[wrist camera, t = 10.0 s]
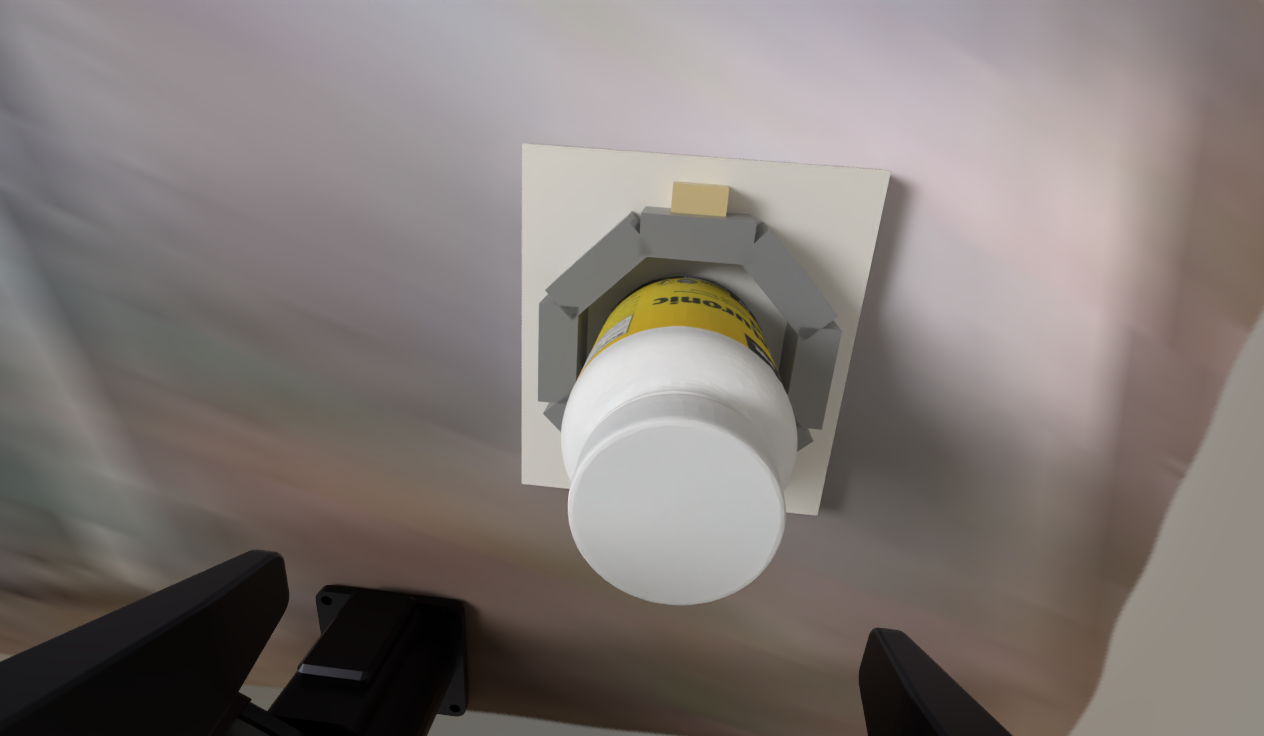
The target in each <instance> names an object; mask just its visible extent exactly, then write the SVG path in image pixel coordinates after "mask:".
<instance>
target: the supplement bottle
mask: <svg viewBox="0 0 1264 736" xmlns="http://www.w3.org/2000/svg"><path fill="white" fill-rule="evenodd" d="M561 449H562V457H563V461H564V466H565V469H566V472H567V474H568V477H569V479H570V482H571V485H570V490H569V496H568V517H569V525H570V528H571V532H572V535H573V538H574V540H575V542H576V545H577V547H578V549H579V551H580V552H581V554H582V556H583V557H584V558H585V560H586V561H587V562H588V563H589V565H590V566H591V567H592V568H593V569H594V570H595V571H596V572H597V573H598V574H599V575H600V576H601V577H603V578H604V579H605V580H606V581H608V582H609V583H611V584H612V585H613V586H615V587H616V588H618V589H620V590H622V591H624V592H626V593H628V594H630V595H632V596H635V597H638V598H641V599H644V600H647V601H651V602H655V603H662V604H668V605H692V604H700V603H707V602H711V601H714V600H717V599H721V598H723V597H726V596H728V595H731V594H733V593H735V592H737V591H738V590H740V589H742V588H744V587H745V586H747V585H748V584H750V583H751V582H752V581H754V580H755V579H756V578H757V577H758V576H759V575H760V574H761V573H762V572H763V571H764V569H765V568H766V567H767V566H768V565H769V564H770V562H771V561H772V559H773V557H774V556H775V554H776V552H777V550H778V548H779V546H780V543H781V540H782V538H783V532H784V529H785V522H786V504H785V497H784V493H783V492H784V490H785V489H786V487H787V485H788V483H789V481H790V478H791V475H792V472H793V469H794V465H795V460H796V455H797V428H796V422H795V417H794V414H793V410H792V406H791V403H790V400H789V396H788V393H787V391H786V388H785V386H784V384H783V382H782V380H781V378H780V376H779V373H778V371H777V368H776V366H775V363H774V361H773V358H772V355H771V353H770V351H769V348H768V345H767V343H766V341H765V338H764V336H763V333H762V330H761V328H760V326H759V324H758V322H757V320H756V318H755V317H754V315H753V314H752V312H751V310H750V309H749V308H748V306H747V305H746V304H745V303H744V302H743V301H742V300H741V298H739V297H738V296H737V295H736V294H735V293H734V292H732V291H731V290H730V289H728V288H727V287H725V286H724V285H722V284H720V283H718V282H716V281H714V280H711V279H707V278H704V277H700V276H695V275H684V274H678V275H667V276H663V277H659V278H655V279H653V280H650V281H648V282H646V283H643V284H642V285H640V286H638V287H637V288H635V289H634V290H632V291H631V292H630V293H628V294H627V295H626V296H625V297H624V298H623V299H622V300H621V301H620V302H619V303H618V304H617V305H616V307H615V308H614V309H613V311H612V312H611V314H610V315H609V317H608V319H607V321H606V322H605V324H604V326H603V328H602V330H601V332H600V334H599V336H598V338H597V340H596V342H595V344H594V346H593V348H592V350H591V352H590V354H589V357H588V359H587V361H586V363H585V365H584V367H583V369H582V371H581V373H580V375H579V377H578V379H577V381H576V383H575V385H574V387H573V389H572V391H571V393H570V396H569V399H568V402H567V405H566V408H565V412H564V416H563V420H562V427H561Z"/></svg>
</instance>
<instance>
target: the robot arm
mask: <svg viewBox="0 0 1264 736" xmlns="http://www.w3.org/2000/svg"><path fill="white" fill-rule="evenodd" d="M329 597H330V598H329ZM288 602H289V588H288V582H287V575H286V569H285V562H284V558H283V557H282V555H281V554H280V553H278V552H273V551H265V550H251V551H248V552H246V553H244V554H241V555H239V556H237V557H235V558H232V559H230V560H228V561H226V562H223V563H221V564H219V565H217V566H214V567H212V568H210V569H208V570H205V571H203V572H201V573H199V574H196V575H194V576H192V577H190V578H187V579H185V580H183V581H181V582H178V583H176V584H174V585H172V586H169V587H167V588H165V589H163V590H160V591H158V592H156V593H154V594H151V595H149V596H147V597H145V598H142V599H140V600H138V601H136V602H133V603H131V604H129V605H127V606H124V607H122V608H120V609H118V610H115V611H113V612H111V613H109V614H106V615H104V616H102V617H100V618H97V619H95V620H93V621H91V622H88V623H86V624H84V625H82V626H79V627H77V628H75V629H73V630H70V631H68V632H66V633H64V634H61V635H59V636H57V637H55V638H52V639H50V640H48V641H46V642H43V643H41V644H39V645H37V646H35V647H32V648H30V649H28V650H26V651H23V652H21V653H19V654H17V655H14V656H12V657H10V658H8V659H5V660H3V661H1V662H0V736H427V735H428V732H429V730H430V728H431V726H432V723H433V721H434V719H435V716H436V714H442V715H450V716H461V715H463V714H464V713H465V711H466V708H467V706H468V681H467V658H466V635H465V612H464V607H463V606H462V604H461V603H459V602H458V601H455V600H449V599H441V598H432V597H424V596H416V595H408V594H399V593H391V592H383V591H375V590H366V589H358V588H350V587H342V586H333V585H326V586H324V587H323V588H322V589H321V590H320V591H319V593H318V594H317V595H316V605H317V611H318V618H319V624H320V630H321V636H320V637H319V639H318V640H317V641H316V643H315V644H314V645H313V647H312V648H311V649H310V651H309V652H308V653H307V655H306V656H305V657H304V659H303V660H302V661H301V663H300V664H299V665H298V668H297V672H296V673H295V674H294V676H293V677H292V679H291V680H290V681H289V683H288V684H287V685H286V687H285V688H284V689H283V691H282V692H281V693H280V695H279V696H278V697H277V699H276V700H275V701H274V703H273V704H272V705H271V707H270V708H269V709H268V711H265V710H264V709H262V708H260V707H258V706H257V705H255V704H253V703H251V702H250V701H251V700H252V699H251V698H249V697H247V696H245V695H243V694H241V693H240V692H239V690H240V688H241V687H242V685H243V683H244V681H245V680H246V678H247V676H248V674H249V673H250V671H251V669H252V668H253V666H254V664H255V662H256V661H257V659H258V657H259V655H260V654H261V652H262V650H263V649H264V647H265V645H266V643H267V642H268V640H269V638H270V637H271V635H272V633H273V631H274V630H275V628H276V626H277V624H278V623H279V621H280V619H281V618H282V616H283V614H284V612H285V610H286V608H287V605H288ZM449 611H451V612H453V613H454V614H453V613H450V612H449ZM859 687H860V693H861V699H862V704H863V710H864V716H865V721H866V727H867V733H868V736H1012V735H1011V734H1010V733H1009V732H1008V731H1007V730H1006V729H1005V728H1004V727H1003V726H1002V725H1001V724H1000V723H999V722H998V721H997V720H996V719H995V718H994V717H992V716H991V715H990V714H989V713H988V712H987V711H986V710H985V709H984V708H983V707H982V706H981V705H980V704H979V703H978V702H977V701H976V700H975V699H974V698H973V697H971V696H970V695H969V694H968V693H967V692H966V691H965V690H964V689H963V688H962V687H961V686H960V685H959V684H958V683H957V682H956V681H955V680H954V679H953V678H952V677H950V676H949V675H948V674H947V673H946V672H945V671H944V670H943V669H942V668H941V667H940V666H939V665H938V664H937V663H936V662H935V661H934V660H933V659H932V658H930V657H929V656H928V655H927V654H926V653H925V652H924V651H923V650H922V649H921V648H920V647H919V646H918V645H917V644H916V643H915V642H914V641H913V640H912V639H911V638H909V637H908V636H907V635H906V634H905V633H904V632H902V631H899V630H893V629H886V628H874V629H872V631H871V632H870V634H869V637H868V641H867V644H866V648H865V651H864V655H863V658H862V662H861V665H860V669H859Z"/></svg>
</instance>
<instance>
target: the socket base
mask: <svg viewBox="0 0 1264 736" xmlns="http://www.w3.org/2000/svg"><path fill="white" fill-rule="evenodd" d="M890 173H891V171H889V170H881V169H867V168H854V167H840V166H826V165H813V164H799V163H786V162H772V161H758V160H745V159H731V158H718V157H704V156H690V155H677V154H663V153H650V152H636V151H623V150H609V149H595V148H582V147H568V146H555V145H541V144H522V484H530V485H539V486H548V487H557V488H566V489H570V485H571V482H570V479H569V477H568V474H567V472H566V469H565V466H564V461H563V457H562V449H561V427H562V420H563V416H564V412H565V408H566V405H567V402H568V399H569V396H570V393H571V391H572V389H573V387H574V385H575V383H576V381H577V379H578V377H579V375H580V373H581V371H582V369H583V367H584V365H585V363H586V361H587V359H588V357H589V354H590V352H591V350H592V348H593V346H594V344H595V342H596V340H597V338H598V336H599V334H600V332H601V330H602V328H603V326H604V324H605V322H606V321H607V319H608V317H609V315H610V314H611V312H612V311H613V309H614V308H615V307H616V305H617V304H618V303H619V302H620V301H621V300H622V299H623V298H624V297H625V296H626V295H627V294H628V293H630V292H631V291H632V290H634V289H635V288H637V287H638V286H640V285H642V284H643V283H646V282H648V281H650V280H653V279H655V278H659V277H663V276H667V275H678V274H684V275H695V276H700V277H704V278H707V279H711V280H714V281H716V282H718V283H720V284H722V285H724V286H725V287H727V288H728V289H730V290H731V291H732V292H734V293H735V294H736V295H737V296H738V297H739V298H741V300H742V301H743V302H744V303H745V304H746V305H747V306H748V308H749V309H750V310H751V312H752V314H753V315H754V317H755V318H756V320H757V322H758V324H759V326H760V328H761V330H762V333H763V336H764V338H765V341H766V343H767V345H768V348H769V351H770V353H771V355H772V358H773V361H774V363H775V366H776V368H777V371H778V373H779V376H780V378H781V380H782V382H783V384H784V386H785V388H786V391H787V393H788V396H789V400H790V403H791V406H792V410H793V414H794V417H795V422H796V428H797V455H796V460H795V465H794V469H793V472H792V475H791V478H790V481H789V483H788V485H787V487H786V489H785V490H784V492H783V493H784V497H785V504H786V512H788V513H797V514H807V515H816V516H817V515H818V510H819V505H820V501H821V496H822V491H823V487H824V482H825V477H826V472H827V468H828V463H829V458H830V454H831V449H832V444H833V440H834V435H835V430H836V426H837V421H838V416H839V412H840V407H841V402H842V398H843V393H844V388H845V384H846V379H847V374H848V370H849V365H850V360H851V356H852V351H853V346H854V342H855V337H856V332H857V328H858V323H859V318H860V314H861V309H862V304H863V299H864V295H865V290H866V285H867V281H868V276H869V271H870V267H871V262H872V257H873V253H874V248H875V243H876V239H877V234H878V229H879V225H880V220H881V215H882V211H883V206H884V201H885V197H886V192H887V187H888V183H889V178H890Z"/></svg>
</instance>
